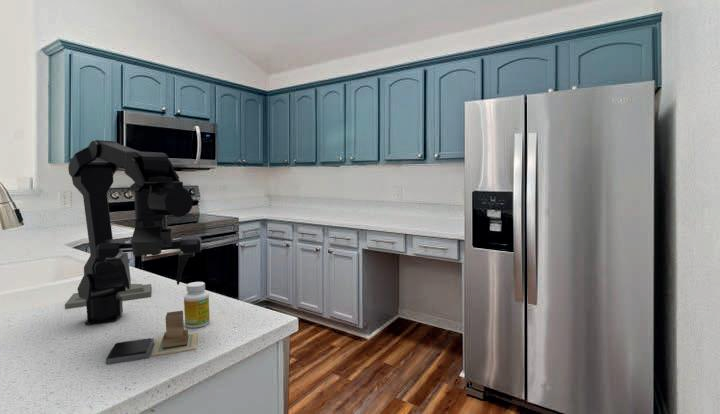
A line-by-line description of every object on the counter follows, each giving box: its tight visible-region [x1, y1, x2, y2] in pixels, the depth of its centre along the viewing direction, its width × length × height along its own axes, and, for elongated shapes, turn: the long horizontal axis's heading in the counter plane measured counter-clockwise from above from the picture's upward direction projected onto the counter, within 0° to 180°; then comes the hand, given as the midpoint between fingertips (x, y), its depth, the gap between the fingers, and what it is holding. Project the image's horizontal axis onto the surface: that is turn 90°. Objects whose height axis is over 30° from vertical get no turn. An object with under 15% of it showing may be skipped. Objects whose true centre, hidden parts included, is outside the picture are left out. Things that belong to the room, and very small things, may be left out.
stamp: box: [162, 310, 189, 350], centre depth 78 cm, size 4×4×6 cm
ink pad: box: [105, 337, 155, 365], centre depth 75 cm, size 7×7×1 cm
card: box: [151, 332, 199, 357], centre depth 79 cm, size 8×8×1 cm
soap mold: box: [64, 283, 153, 310], centre depth 108 cm, size 10×20×4 cm, turn 118°
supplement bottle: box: [183, 281, 210, 329], centre depth 89 cm, size 5×5×10 cm
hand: (154, 286), depth 79 cm, fingers open, 9 cm apart
